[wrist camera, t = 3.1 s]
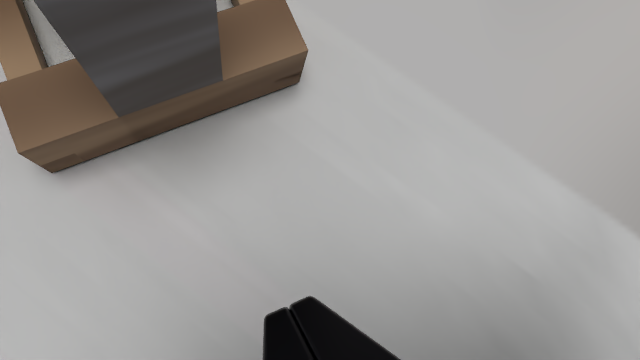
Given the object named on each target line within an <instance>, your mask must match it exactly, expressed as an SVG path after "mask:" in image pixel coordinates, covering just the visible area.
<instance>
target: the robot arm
mask: <svg viewBox="0 0 640 360" xmlns="http://www.w3.org/2000/svg"><path fill="white" fill-rule="evenodd" d="M263 360H400V359H399V358H398V357H396V356H395V355H393V354H392V353H391V352H389V351H388V350H386V349H385V348H384V347H382V346H381V345H380V344H378V343H377V342H375V341H374V340H373V339H371V338H370V337H368V336H367V335H366V334H364V333H363V332H362V331H360V330H359V329H357V328H356V327H355V326H353V325H352V324H350V323H349V322H348V321H346V320H345V319H344V318H342V317H341V316H339V315H338V314H337V313H335V312H334V311H332V310H331V309H330V308H328V307H327V306H326V305H324V304H323V303H321V302H320V301H319V300H317V299H316V298H314V297H312V296H309V297H306V298H303V299H301V300H299V301H297V302H294V303H292V304H291V305H290V307H289V309H288V308H287V307H283V308H281V309H279V310H277V311H274V312H272V313H270V314H268V315H266V316H265V319H264V337H263Z"/></svg>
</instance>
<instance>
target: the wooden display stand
mask: <svg viewBox="0 0 640 360" xmlns="http://www.w3.org/2000/svg"><path fill="white" fill-rule="evenodd" d="M231 1H232V3H233V6H234V7H232V8H229V9H226V10H223V11H220V12H217V7H216V0H34V2H35V3H36V4H37V6H38V7H39V8H40V10H41V11H42V13H43V14H44V15H45V17H46V18H47V19H48V21H49V22H50V24H51V25H52V26H53V28H54V29H55V30H56V32H57V33H58V35H59V36H60V37H61V39H62V40H63V41H64V43H65V44H66V46H67V47H68V48H69V50H70V51H71V52H72V54H73V55H74V57H75V59H72V60H69V61H66V62H63V63H60V64H57V65H54V66H51V67H48V66H47V64H46V61H45V59H44V56H43V53H42V51H41V48H40V46H39V43H38V41H37V38H36V35H35V33H34V30H33V28H32V25H31V23H30V20H29V17H28V15H27V12H26V10H25V7H24V4H23V2H22V0H0V62H1V65H2V67H3V70H4V73H5V75H6V78H7V81H4V82H1V83H0V106H1V109H2V111H3V114H4V117H5V119H6V122H7V125H8V127H9V130H10V133H11V136H12V138H13V141H14V144H15V146H16V149H17V152H18V153H19V154H20V155H22V156H24V157H25V158H27V159H29V160H30V161H32V162H34V163H36V164H37V165H39V166H41V167H42V168H44V169H46V170H47V171H49V172H51V173H53V172H56V171H59V170H62V169H64V168H67V167H70V166H72V165H75V164H78V163H81V162H83V161H86V160H89V159H92V158H94V157H97V156H100V155H102V154H105V153H108V152H111V151H113V150H116V149H119V148H121V147H124V146H127V145H130V144H132V143H135V142H138V141H141V140H143V139H146V138H149V137H151V136H154V135H157V134H160V133H162V132H165V131H168V130H170V129H173V128H176V127H179V126H181V125H184V124H187V123H189V122H192V121H195V120H198V119H200V118H203V117H206V116H209V115H211V114H214V113H217V112H219V111H222V110H225V109H228V108H230V107H233V106H236V105H238V104H241V103H244V102H247V101H249V100H252V99H255V98H257V97H260V96H263V95H266V94H268V93H271V92H274V91H277V90H279V89H282V88H285V87H287V86H290V85H293V84H296V83H298V82H299V81H300V77H301V74H302V70H303V67H304V63H305V60H306V56H307V53H308V49H307V46H306V44H305V42H304V40H303V38H302V36H301V33H300V31H299V29H298V27H297V25H296V22H295V20H294V18H293V16H292V14H291V12H290V9H289V7H288V5H287V3H286V1H285V0H231Z"/></svg>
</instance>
